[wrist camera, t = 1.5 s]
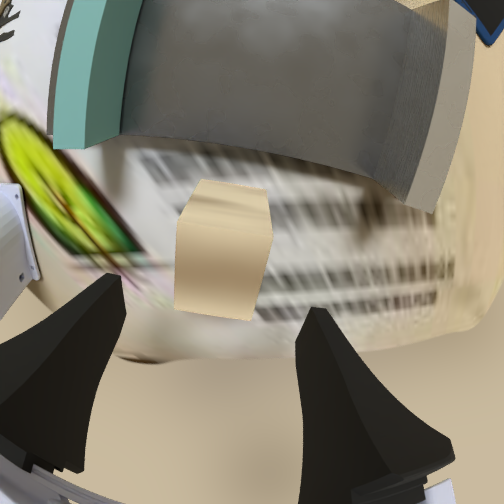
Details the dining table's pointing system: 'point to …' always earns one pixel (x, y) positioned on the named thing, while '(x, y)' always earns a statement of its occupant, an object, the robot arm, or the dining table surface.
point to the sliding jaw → (93, 72)
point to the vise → (305, 82)
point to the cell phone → (486, 17)
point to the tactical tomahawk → (6, 18)
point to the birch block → (222, 250)
